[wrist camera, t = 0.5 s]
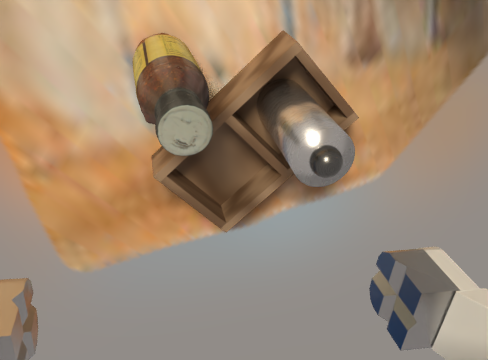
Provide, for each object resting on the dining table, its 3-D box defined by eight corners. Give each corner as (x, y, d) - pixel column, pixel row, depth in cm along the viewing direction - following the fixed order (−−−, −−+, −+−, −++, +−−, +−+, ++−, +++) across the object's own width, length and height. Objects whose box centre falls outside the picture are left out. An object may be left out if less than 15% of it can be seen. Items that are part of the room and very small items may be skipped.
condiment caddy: (283, 30, 50) (297, 41, 46) (342, 101, 56) (359, 117, 52) (151, 156, 54) (153, 177, 50) (219, 210, 60) (225, 232, 56)
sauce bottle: (158, 98, 51) (172, 191, 34) (120, 54, 48) (114, 133, 31) (205, 63, 50) (242, 141, 33) (169, 15, 47) (190, 75, 30)
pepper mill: (285, 67, 51) (340, 124, 38) (315, 102, 54) (376, 166, 41) (246, 104, 52) (285, 171, 39) (277, 136, 55) (325, 209, 42)
